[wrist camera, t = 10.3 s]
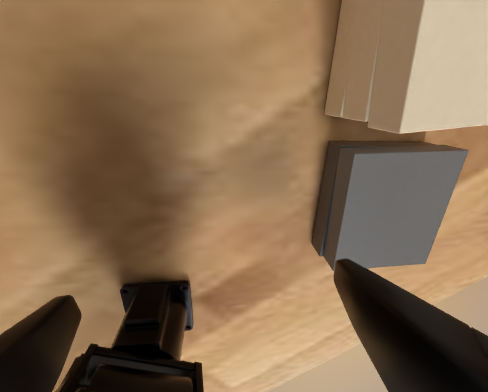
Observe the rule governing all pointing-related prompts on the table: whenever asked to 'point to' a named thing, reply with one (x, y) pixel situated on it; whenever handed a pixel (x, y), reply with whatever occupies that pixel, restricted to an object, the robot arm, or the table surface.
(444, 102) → the cream rectangular block
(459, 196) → the table surface
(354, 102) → the beige block
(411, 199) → the grey books
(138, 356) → the robot arm
